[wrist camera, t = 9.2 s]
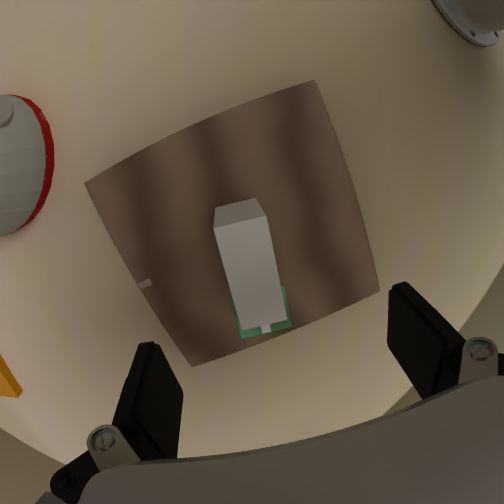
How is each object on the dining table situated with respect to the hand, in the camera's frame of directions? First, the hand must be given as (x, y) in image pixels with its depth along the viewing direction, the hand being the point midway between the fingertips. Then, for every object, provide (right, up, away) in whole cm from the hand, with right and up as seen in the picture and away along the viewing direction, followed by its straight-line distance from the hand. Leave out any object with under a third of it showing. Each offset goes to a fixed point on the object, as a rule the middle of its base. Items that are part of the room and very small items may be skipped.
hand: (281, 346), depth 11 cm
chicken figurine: (-26, +12, +10) cm, 31 cm away
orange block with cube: (-39, -14, +19) cm, 46 cm away
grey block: (-1, +2, +14) cm, 14 cm away
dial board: (-2, +5, +15) cm, 16 cm away
